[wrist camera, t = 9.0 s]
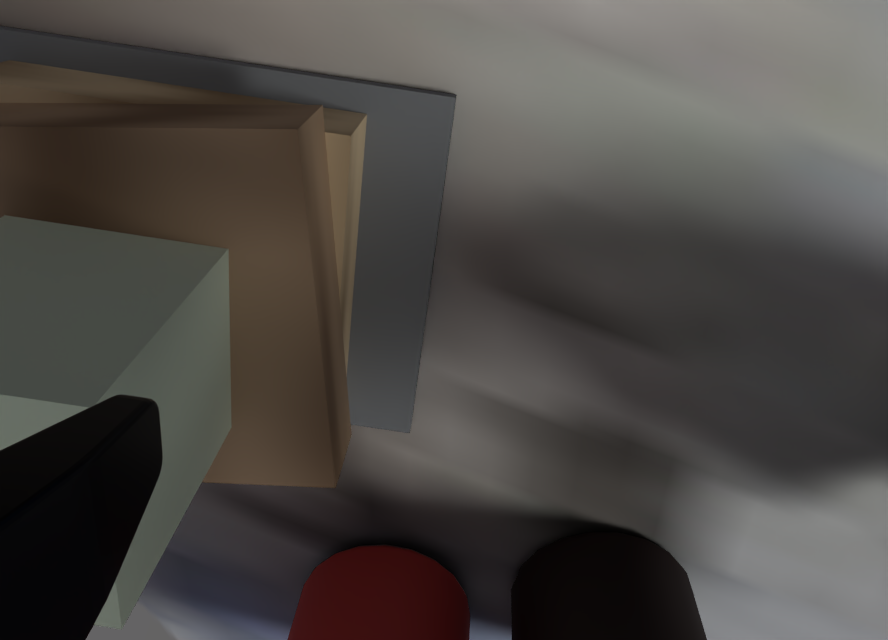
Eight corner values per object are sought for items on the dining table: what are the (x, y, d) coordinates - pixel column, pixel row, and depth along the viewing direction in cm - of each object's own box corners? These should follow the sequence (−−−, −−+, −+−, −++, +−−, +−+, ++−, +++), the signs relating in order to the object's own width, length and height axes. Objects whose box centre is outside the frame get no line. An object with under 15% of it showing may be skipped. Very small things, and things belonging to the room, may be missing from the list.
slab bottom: (367, 114, 19) (351, 136, 17) (344, 404, 23) (329, 450, 21) (9, 60, 19) (-50, 75, 17) (57, 362, 23) (15, 403, 21)
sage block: (228, 248, 16) (91, 407, 10) (231, 427, 18) (121, 629, 13) (4, 215, 16) (-246, 358, 10) (37, 398, 18) (-152, 589, 13)
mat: (456, 94, 19) (455, 97, 18) (410, 425, 24) (409, 433, 24) (-72, 14, 19) (-82, 16, 18) (0, 364, 24) (-7, 371, 24)
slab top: (322, 104, 16) (297, 129, 14) (351, 434, 21) (335, 488, 19) (-70, 102, 17) (-147, 125, 15) (42, 423, 21) (-6, 473, 19)
